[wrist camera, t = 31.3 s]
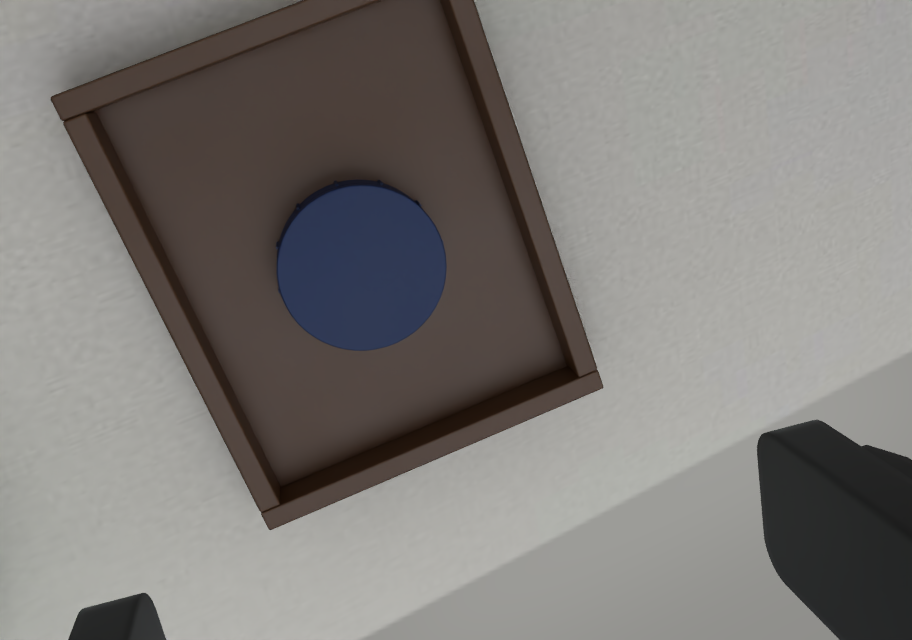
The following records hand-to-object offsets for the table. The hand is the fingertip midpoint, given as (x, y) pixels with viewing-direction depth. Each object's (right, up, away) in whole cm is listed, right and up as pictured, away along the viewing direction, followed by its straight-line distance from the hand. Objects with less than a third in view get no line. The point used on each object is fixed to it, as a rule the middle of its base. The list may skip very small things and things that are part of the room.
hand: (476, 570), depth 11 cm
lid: (-4, +5, +19) cm, 20 cm away
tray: (-4, +6, +21) cm, 22 cm away
